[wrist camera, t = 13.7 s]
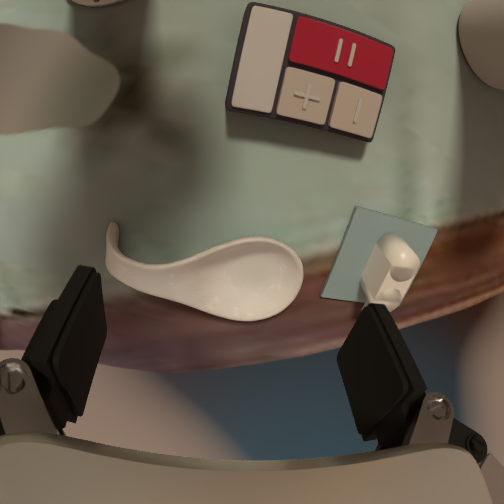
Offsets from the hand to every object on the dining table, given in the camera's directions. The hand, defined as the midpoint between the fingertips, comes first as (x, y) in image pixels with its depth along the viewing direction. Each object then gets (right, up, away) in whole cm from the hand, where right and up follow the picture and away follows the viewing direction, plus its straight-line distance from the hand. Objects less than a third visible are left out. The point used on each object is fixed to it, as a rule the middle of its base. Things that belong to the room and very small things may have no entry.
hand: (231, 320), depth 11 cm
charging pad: (+18, +1, +29) cm, 34 cm away
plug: (+17, +1, +28) cm, 33 cm away
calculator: (+6, +21, +18) cm, 28 cm away
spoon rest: (-5, +2, +28) cm, 28 cm away
